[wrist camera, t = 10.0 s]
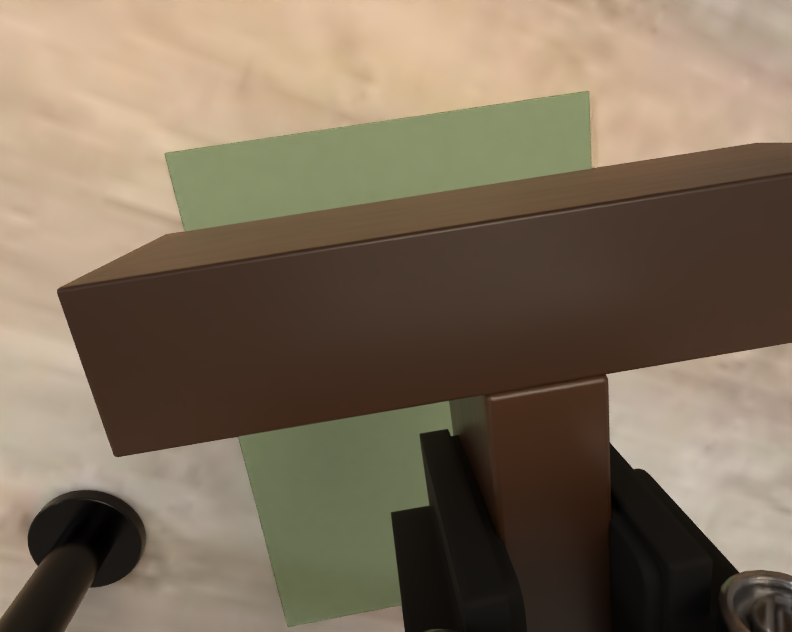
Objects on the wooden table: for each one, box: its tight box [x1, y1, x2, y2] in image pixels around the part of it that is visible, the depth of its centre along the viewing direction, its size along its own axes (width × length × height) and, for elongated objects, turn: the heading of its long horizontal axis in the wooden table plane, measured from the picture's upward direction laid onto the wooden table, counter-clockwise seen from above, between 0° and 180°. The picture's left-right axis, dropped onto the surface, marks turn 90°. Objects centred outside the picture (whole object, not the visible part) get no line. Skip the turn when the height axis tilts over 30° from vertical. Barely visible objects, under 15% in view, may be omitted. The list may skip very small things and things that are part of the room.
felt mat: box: [165, 91, 592, 627], centre depth 22 cm, size 15×21×1 cm
